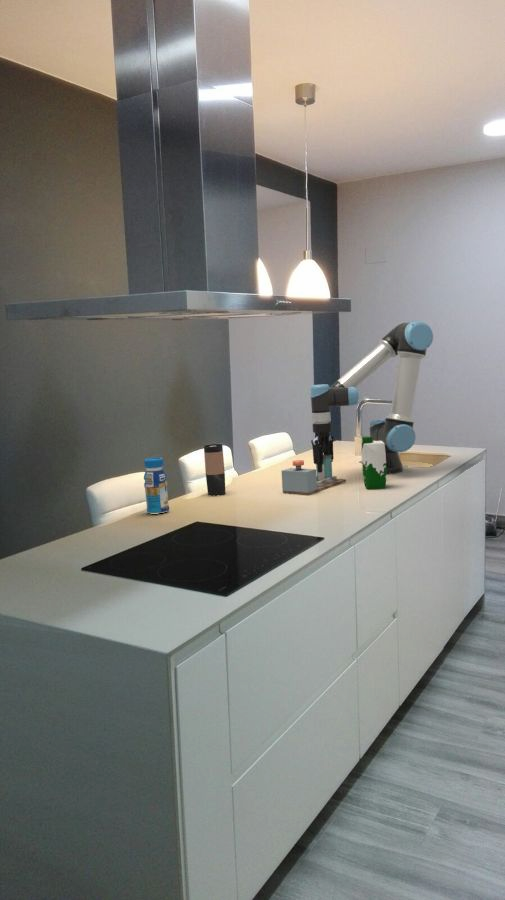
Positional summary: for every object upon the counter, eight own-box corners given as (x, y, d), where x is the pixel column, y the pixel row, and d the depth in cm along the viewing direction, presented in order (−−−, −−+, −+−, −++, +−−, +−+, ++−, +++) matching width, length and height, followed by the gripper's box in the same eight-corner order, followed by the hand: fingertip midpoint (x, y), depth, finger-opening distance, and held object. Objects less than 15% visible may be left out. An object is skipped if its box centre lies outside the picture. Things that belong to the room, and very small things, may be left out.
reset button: (297, 469, 284) (296, 460, 284) (306, 470, 282) (305, 460, 281) (290, 471, 281) (290, 461, 280) (300, 471, 278) (299, 462, 278)
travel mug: (227, 491, 294) (223, 443, 291) (224, 495, 286) (221, 446, 284) (208, 492, 295) (205, 444, 292) (205, 496, 287) (202, 447, 284)
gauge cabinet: (292, 487, 288) (290, 467, 287) (317, 489, 281) (316, 469, 280) (282, 490, 283) (281, 470, 282) (308, 492, 276) (306, 472, 275)
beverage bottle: (143, 512, 266) (138, 458, 263) (165, 508, 269) (161, 456, 266) (150, 516, 258) (145, 461, 255) (172, 512, 261) (168, 458, 259)
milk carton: (362, 486, 287) (359, 436, 284) (385, 484, 286) (382, 434, 284) (365, 490, 278) (362, 439, 275) (388, 488, 278) (386, 437, 275)
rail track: (321, 480, 305) (320, 473, 305) (345, 481, 298) (345, 474, 297) (282, 493, 284) (282, 485, 283) (308, 495, 276) (307, 487, 276)
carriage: (322, 479, 300) (320, 454, 298) (333, 480, 296) (331, 454, 295) (316, 481, 296) (314, 456, 295) (327, 482, 293) (326, 456, 291)
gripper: (325, 420, 302) (328, 474, 305) (302, 425, 289) (305, 482, 292) (340, 420, 297) (343, 475, 300) (317, 425, 284) (321, 483, 287)
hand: (324, 478), depth 296 cm, fingers closed on carriage, 4 cm apart
